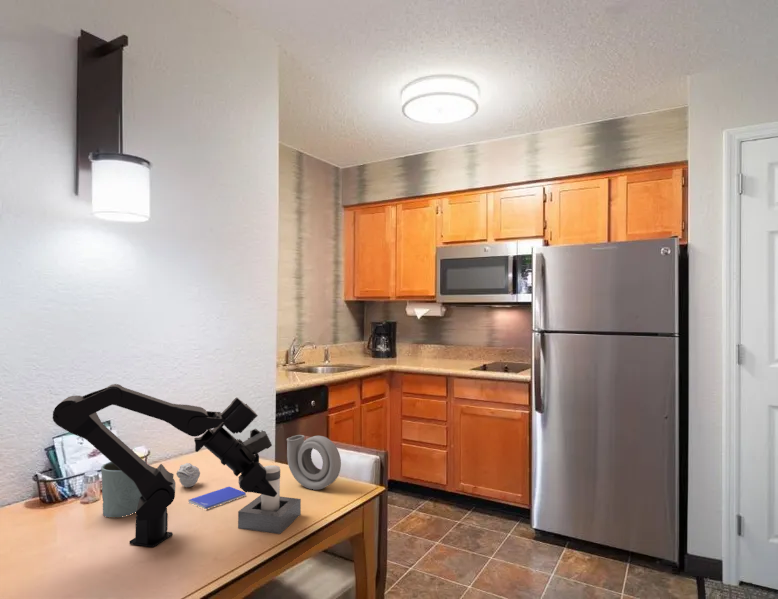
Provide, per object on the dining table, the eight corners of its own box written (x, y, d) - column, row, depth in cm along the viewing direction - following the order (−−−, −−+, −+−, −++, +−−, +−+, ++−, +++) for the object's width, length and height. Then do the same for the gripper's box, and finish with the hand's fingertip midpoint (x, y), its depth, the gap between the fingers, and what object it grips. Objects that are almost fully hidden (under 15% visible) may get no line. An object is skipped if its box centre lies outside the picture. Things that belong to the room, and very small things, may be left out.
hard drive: (205, 506, 128) (246, 492, 138) (188, 499, 133) (228, 485, 143) (205, 512, 128) (245, 498, 138) (188, 504, 133) (228, 491, 143)
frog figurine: (171, 489, 142) (171, 465, 142) (188, 481, 148) (188, 458, 149) (188, 492, 140) (188, 467, 140) (205, 484, 147) (205, 460, 147)
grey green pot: (101, 507, 129) (102, 461, 129) (144, 500, 134) (145, 456, 134) (99, 522, 120) (100, 473, 120) (145, 514, 125) (146, 467, 125)
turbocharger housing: (344, 488, 144) (344, 437, 144) (331, 496, 138) (332, 442, 138) (297, 478, 152) (298, 429, 152) (283, 485, 146) (284, 434, 146)
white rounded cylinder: (267, 527, 119) (268, 472, 119) (256, 521, 122) (257, 468, 122) (283, 521, 122) (284, 468, 122) (272, 515, 125) (273, 463, 125)
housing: (280, 534, 115) (280, 516, 115) (238, 528, 118) (238, 511, 118) (300, 514, 126) (300, 498, 126) (261, 509, 129) (261, 494, 129)
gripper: (256, 431, 112) (304, 474, 116) (247, 414, 129) (288, 452, 133) (218, 470, 109) (269, 513, 113) (214, 447, 126) (258, 485, 130)
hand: (272, 488), depth 122 cm, fingers open, 9 cm apart
